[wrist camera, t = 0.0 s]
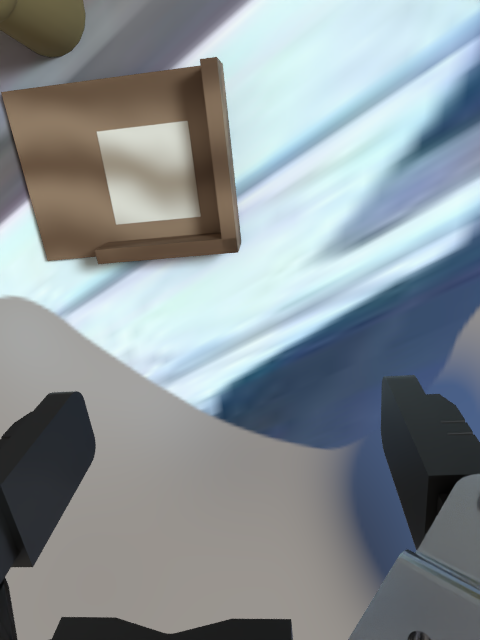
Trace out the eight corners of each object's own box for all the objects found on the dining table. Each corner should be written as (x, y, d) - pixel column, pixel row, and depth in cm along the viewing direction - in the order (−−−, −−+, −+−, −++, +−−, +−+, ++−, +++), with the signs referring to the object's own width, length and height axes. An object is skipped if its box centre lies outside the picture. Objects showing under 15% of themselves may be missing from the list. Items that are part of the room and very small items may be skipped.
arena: (5, 92, 36) (-22, 89, 33) (222, 63, 34) (216, 56, 31) (50, 259, 42) (31, 269, 39) (241, 242, 40) (238, 252, 37)
